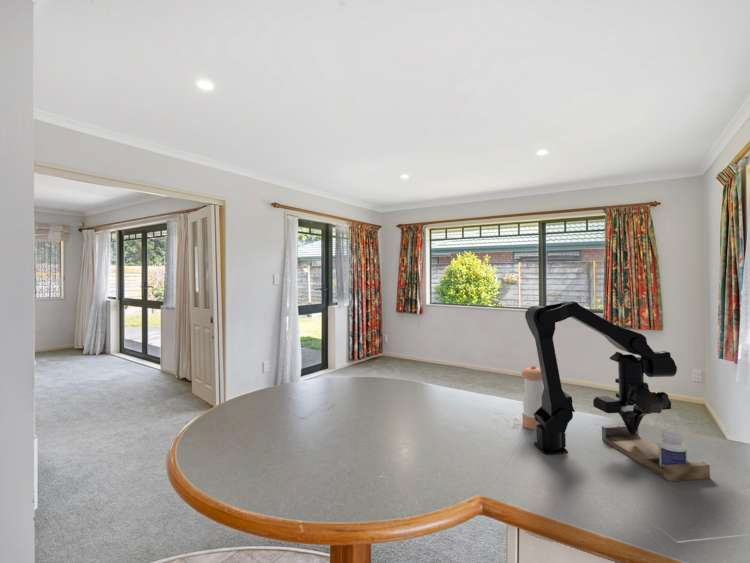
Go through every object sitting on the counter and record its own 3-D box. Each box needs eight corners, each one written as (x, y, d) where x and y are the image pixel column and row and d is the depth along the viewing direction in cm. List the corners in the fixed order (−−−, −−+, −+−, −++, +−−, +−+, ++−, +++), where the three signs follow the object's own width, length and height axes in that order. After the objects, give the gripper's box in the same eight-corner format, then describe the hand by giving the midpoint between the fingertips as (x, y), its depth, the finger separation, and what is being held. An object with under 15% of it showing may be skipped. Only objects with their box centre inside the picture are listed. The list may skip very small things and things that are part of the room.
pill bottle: (692, 477, 88) (691, 439, 88) (666, 475, 90) (665, 438, 89) (678, 466, 94) (678, 430, 94) (654, 464, 95) (653, 429, 95)
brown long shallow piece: (669, 481, 87) (669, 464, 87) (602, 439, 109) (601, 425, 109) (709, 477, 88) (709, 460, 88) (634, 437, 110) (634, 423, 110)
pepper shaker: (522, 428, 119) (520, 367, 119) (522, 420, 126) (521, 362, 126) (547, 431, 117) (546, 369, 116) (546, 422, 123) (545, 363, 123)
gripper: (620, 387, 95) (622, 449, 95) (689, 383, 97) (690, 444, 97) (591, 376, 106) (592, 431, 106) (653, 372, 108) (654, 427, 108)
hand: (632, 434), depth 104 cm, fingers closed
